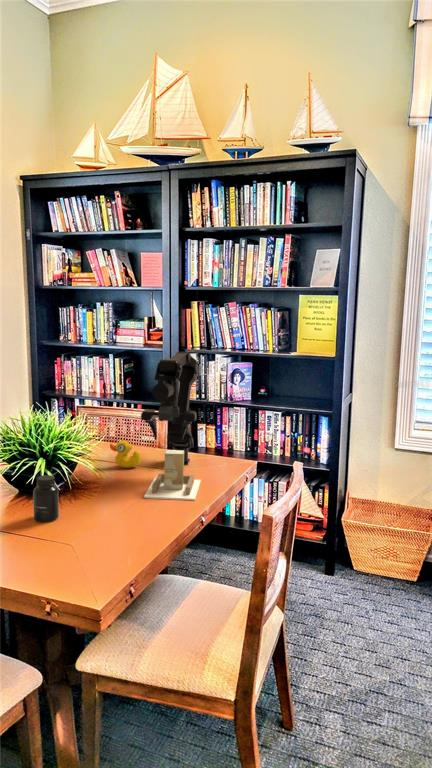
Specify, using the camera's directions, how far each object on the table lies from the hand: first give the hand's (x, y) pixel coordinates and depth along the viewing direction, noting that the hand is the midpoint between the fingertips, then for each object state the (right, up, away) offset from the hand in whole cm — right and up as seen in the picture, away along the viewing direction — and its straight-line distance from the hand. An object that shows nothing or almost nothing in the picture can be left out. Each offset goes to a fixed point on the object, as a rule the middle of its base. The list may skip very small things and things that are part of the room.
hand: (168, 439), depth 194 cm
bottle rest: (+3, -15, -12) cm, 20 cm away
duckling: (-17, -11, +10) cm, 23 cm away
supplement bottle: (-31, -19, -37) cm, 52 cm away
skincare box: (+3, -15, -12) cm, 19 cm away
